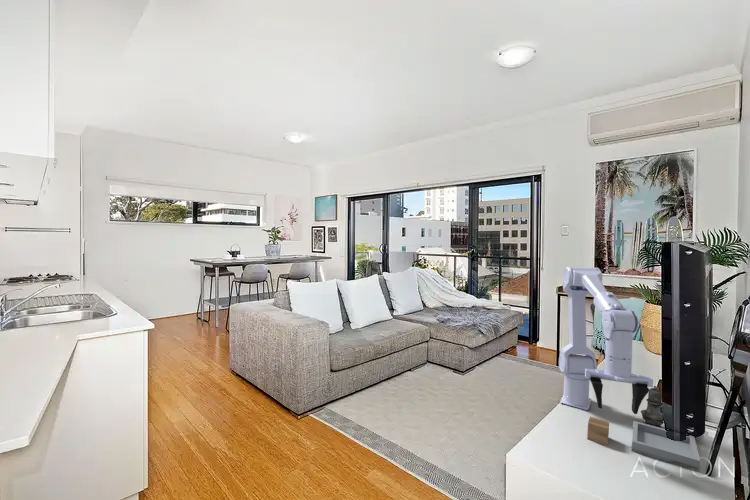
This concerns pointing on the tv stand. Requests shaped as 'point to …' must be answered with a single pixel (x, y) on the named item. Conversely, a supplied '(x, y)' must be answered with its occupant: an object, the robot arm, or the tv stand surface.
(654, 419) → the dark grey turned piece
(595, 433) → the block
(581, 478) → the tv stand surface
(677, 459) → the tray
